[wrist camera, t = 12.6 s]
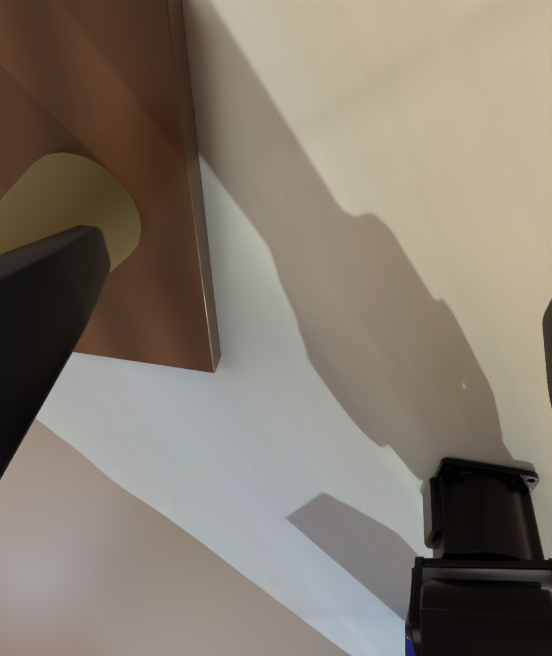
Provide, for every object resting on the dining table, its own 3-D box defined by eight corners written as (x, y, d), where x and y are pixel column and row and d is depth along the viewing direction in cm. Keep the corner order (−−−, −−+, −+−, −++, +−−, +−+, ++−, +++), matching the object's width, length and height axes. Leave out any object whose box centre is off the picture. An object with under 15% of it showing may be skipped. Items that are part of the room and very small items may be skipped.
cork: (165, 227, 23) (42, 398, 15) (97, 279, 27) (-34, 442, 19) (66, 125, 21) (-145, 266, 13) (4, 196, 24) (-195, 344, 16)
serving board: (180, -15, 18) (166, -9, 17) (221, 357, 31) (214, 373, 30) (-97, -23, 19) (-126, -18, 18) (55, 333, 33) (43, 348, 32)
